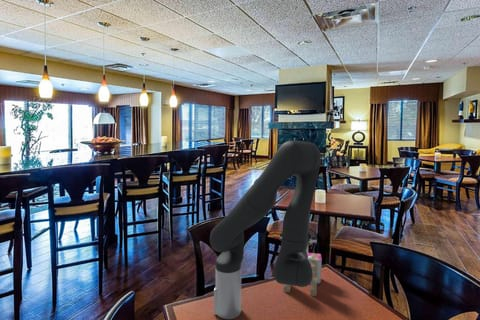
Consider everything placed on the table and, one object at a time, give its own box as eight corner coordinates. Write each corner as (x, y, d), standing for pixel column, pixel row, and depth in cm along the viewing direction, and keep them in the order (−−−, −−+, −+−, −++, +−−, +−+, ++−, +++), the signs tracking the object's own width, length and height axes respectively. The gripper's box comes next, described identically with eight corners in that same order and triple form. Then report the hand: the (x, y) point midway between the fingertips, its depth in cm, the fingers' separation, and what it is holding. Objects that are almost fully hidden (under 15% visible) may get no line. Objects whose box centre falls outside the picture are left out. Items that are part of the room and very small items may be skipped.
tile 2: (310, 295, 121) (311, 259, 120) (310, 287, 127) (311, 253, 125) (316, 296, 121) (317, 260, 119) (316, 288, 127) (317, 254, 125)
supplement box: (320, 284, 129) (321, 259, 128) (306, 283, 130) (307, 258, 129) (320, 278, 135) (321, 253, 133) (306, 276, 136) (307, 252, 135)
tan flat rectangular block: (283, 291, 124) (284, 256, 122) (285, 284, 130) (285, 250, 128) (289, 292, 123) (290, 257, 121) (290, 285, 129) (291, 251, 127)
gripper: (318, 239, 97) (318, 221, 114) (275, 235, 101) (281, 218, 117) (317, 261, 98) (317, 240, 115) (275, 256, 102) (281, 237, 118)
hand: (299, 229), depth 116 cm, fingers closed
